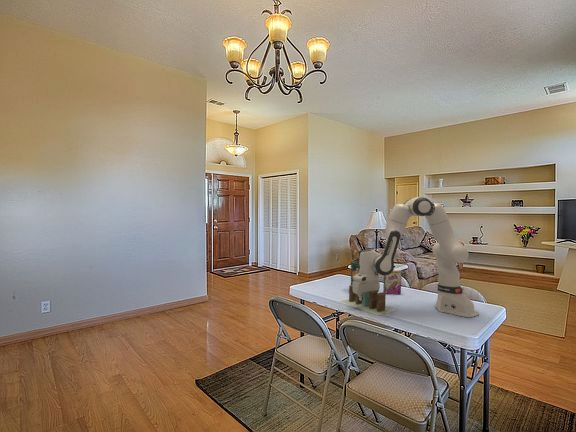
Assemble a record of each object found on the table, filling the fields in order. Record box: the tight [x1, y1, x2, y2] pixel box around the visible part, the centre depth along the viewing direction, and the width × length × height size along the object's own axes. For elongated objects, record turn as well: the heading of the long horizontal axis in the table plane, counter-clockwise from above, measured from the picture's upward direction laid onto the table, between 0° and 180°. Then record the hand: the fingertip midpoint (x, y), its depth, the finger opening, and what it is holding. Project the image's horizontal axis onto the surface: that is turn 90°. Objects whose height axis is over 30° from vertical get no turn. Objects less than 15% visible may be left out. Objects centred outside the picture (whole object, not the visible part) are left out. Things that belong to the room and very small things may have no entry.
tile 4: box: [355, 294, 362, 304], centre depth 189 cm, size 2×5×10 cm, turn 123°
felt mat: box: [339, 298, 396, 316], centre depth 185 cm, size 31×15×1 cm, turn 33°
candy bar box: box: [383, 269, 402, 295], centre depth 215 cm, size 11×5×16 cm, turn 84°
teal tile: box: [362, 292, 369, 307], centre depth 185 cm, size 2×5×10 cm, turn 123°
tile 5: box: [348, 284, 356, 302], centre depth 194 cm, size 2×5×10 cm, turn 123°
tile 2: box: [369, 290, 379, 309], centre depth 180 cm, size 2×5×10 cm, turn 123°
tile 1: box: [377, 292, 387, 312], centre depth 176 cm, size 2×5×10 cm, turn 123°
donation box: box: [350, 250, 380, 293], centre depth 219 cm, size 16×16×28 cm
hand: (366, 299), depth 185 cm, fingers open, 8 cm apart
